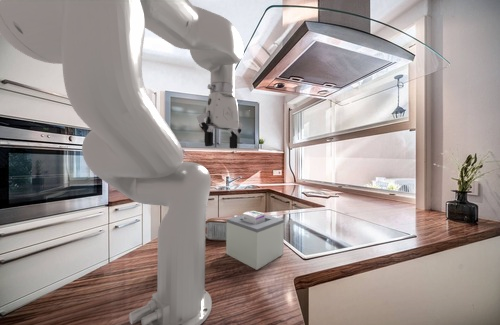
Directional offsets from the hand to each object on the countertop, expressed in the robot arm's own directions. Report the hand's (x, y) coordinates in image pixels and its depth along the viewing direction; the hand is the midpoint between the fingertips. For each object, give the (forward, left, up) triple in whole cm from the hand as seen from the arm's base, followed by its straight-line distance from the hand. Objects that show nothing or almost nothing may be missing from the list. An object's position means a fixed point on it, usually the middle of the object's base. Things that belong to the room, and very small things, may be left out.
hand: (221, 147), depth 61 cm
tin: (+11, +14, -37) cm, 41 cm away
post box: (+12, -4, -36) cm, 38 cm away
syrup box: (+11, -4, -36) cm, 38 cm away
